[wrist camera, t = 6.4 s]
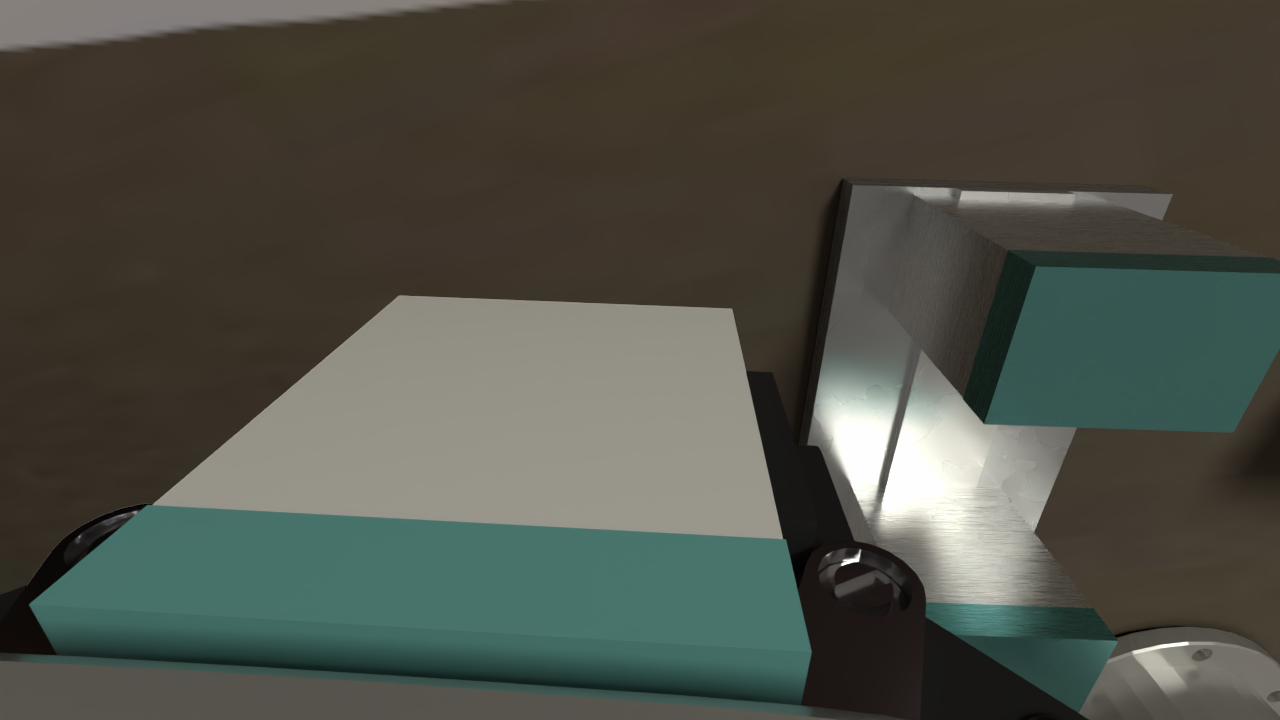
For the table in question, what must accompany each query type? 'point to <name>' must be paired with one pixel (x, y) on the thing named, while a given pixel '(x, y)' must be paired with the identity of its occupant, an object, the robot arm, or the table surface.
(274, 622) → the block
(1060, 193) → the rail plate
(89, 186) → the table surface
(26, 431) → the table surface
